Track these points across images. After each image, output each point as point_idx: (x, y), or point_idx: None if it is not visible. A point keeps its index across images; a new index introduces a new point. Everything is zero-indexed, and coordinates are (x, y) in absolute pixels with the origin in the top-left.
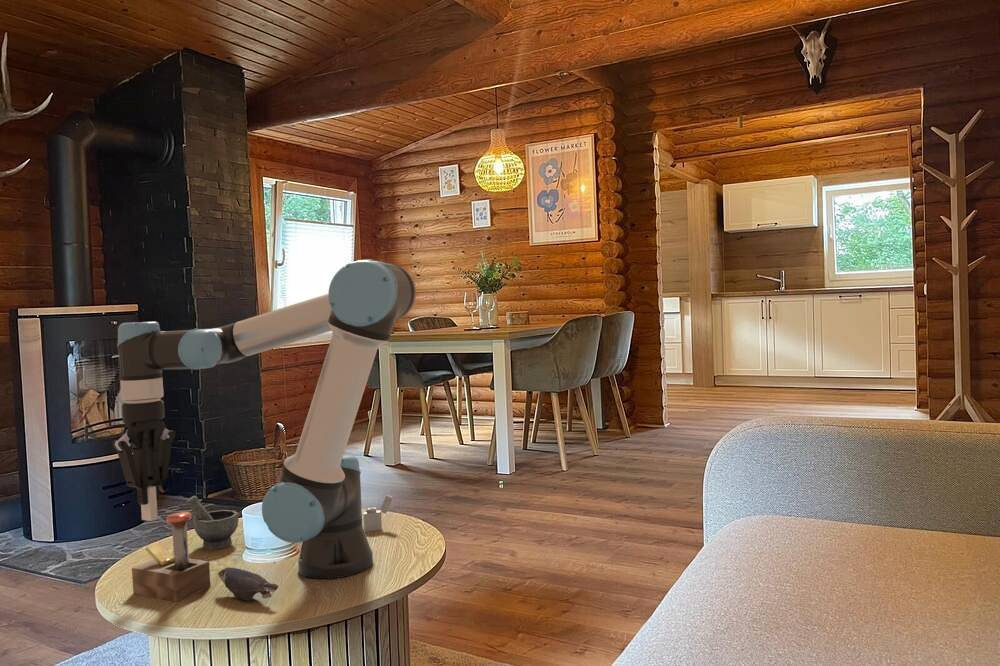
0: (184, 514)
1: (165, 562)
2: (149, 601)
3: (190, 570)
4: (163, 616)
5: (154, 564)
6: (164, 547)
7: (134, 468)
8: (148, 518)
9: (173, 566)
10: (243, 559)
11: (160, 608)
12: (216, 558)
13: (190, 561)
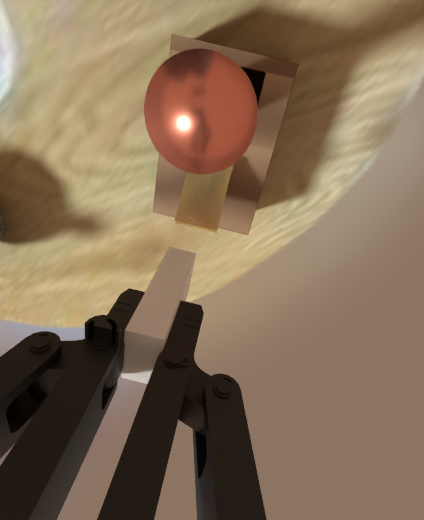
0: (182, 94)
1: None
2: (290, 144)
3: (243, 51)
4: (389, 29)
5: None
6: (181, 197)
7: (233, 508)
8: (192, 268)
9: None
10: (10, 88)
11: (333, 81)
12: (34, 166)
13: None
